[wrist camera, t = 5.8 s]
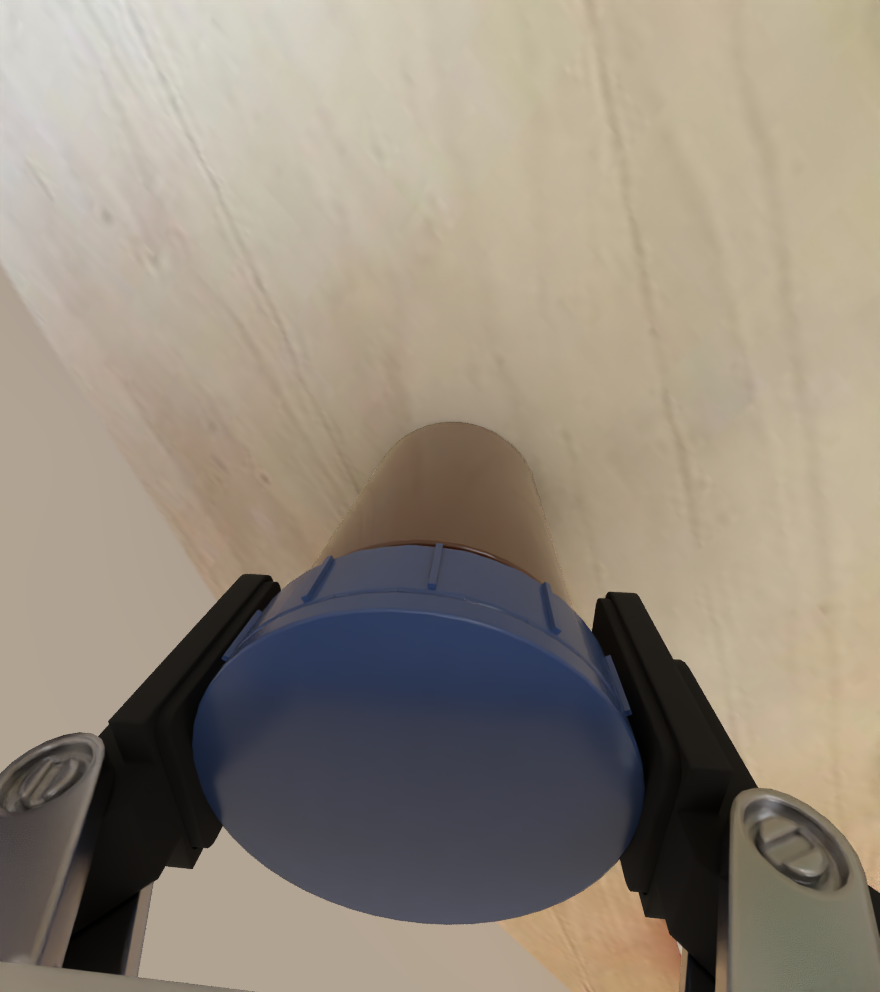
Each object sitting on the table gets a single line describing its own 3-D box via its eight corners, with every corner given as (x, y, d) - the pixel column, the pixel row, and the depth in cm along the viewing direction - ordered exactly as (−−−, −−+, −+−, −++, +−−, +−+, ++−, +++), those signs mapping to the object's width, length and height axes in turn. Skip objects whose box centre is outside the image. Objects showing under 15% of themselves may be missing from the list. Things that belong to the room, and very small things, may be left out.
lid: (606, 518, 7) (645, 583, 5) (619, 821, 9) (648, 928, 8) (190, 567, 8) (114, 633, 6) (303, 828, 10) (270, 924, 8)
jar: (443, 597, 19) (405, 894, 9) (340, 489, 17) (167, 710, 8) (569, 514, 17) (683, 779, 7) (465, 385, 15) (438, 506, 6)
